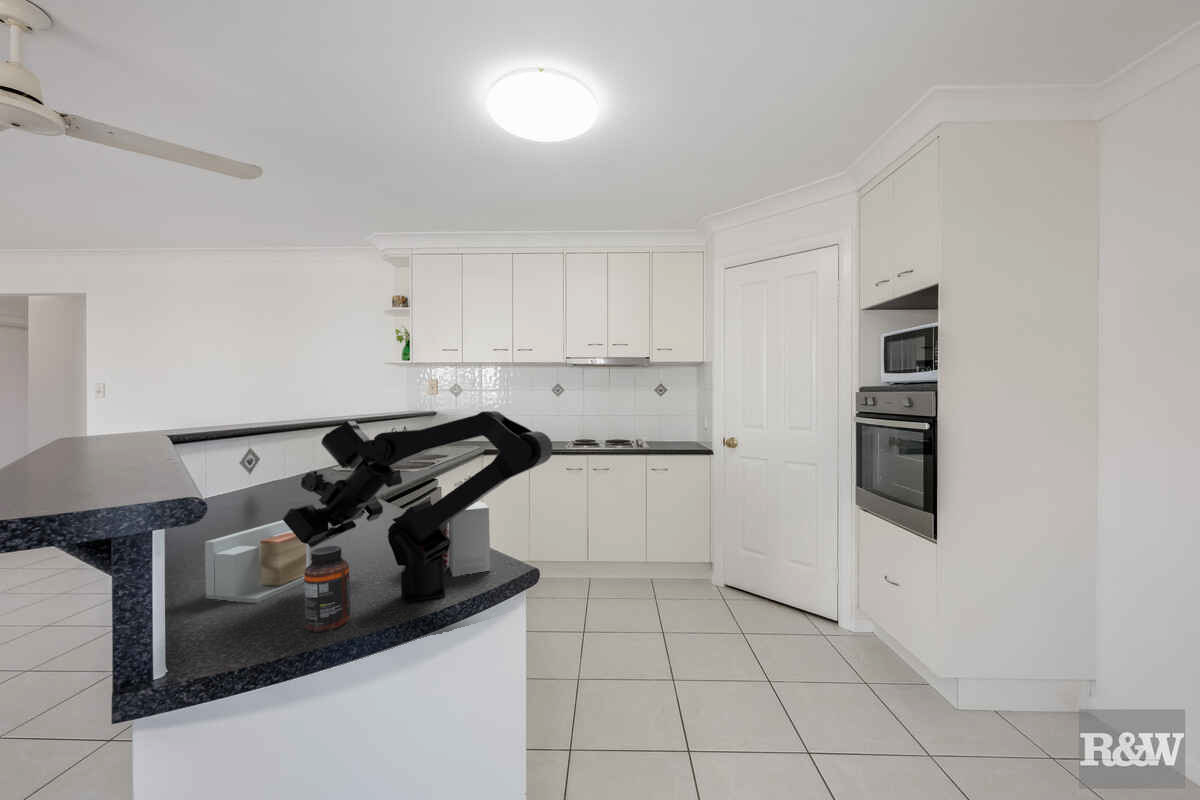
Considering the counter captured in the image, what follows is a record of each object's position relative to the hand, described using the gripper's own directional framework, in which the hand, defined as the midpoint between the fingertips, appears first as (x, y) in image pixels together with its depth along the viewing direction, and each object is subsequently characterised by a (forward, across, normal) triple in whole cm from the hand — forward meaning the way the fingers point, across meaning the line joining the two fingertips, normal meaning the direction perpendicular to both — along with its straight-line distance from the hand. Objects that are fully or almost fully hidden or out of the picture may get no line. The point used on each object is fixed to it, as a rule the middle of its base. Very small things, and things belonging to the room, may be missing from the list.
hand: (310, 545), depth 89 cm
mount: (+12, 0, -1) cm, 12 cm away
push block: (+9, 0, 0) cm, 9 cm away
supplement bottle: (-5, +13, +16) cm, 21 cm away
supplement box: (-12, -13, +23) cm, 29 cm away
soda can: (-6, -13, +17) cm, 22 cm away
